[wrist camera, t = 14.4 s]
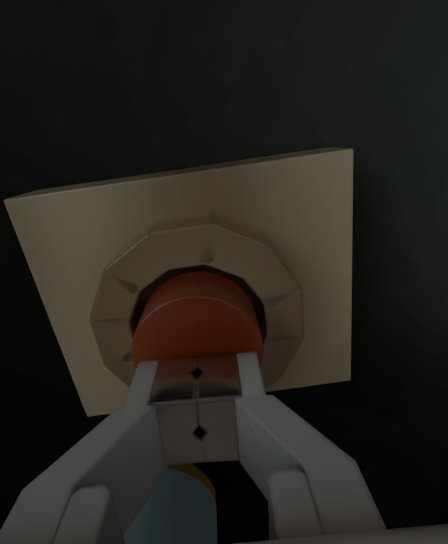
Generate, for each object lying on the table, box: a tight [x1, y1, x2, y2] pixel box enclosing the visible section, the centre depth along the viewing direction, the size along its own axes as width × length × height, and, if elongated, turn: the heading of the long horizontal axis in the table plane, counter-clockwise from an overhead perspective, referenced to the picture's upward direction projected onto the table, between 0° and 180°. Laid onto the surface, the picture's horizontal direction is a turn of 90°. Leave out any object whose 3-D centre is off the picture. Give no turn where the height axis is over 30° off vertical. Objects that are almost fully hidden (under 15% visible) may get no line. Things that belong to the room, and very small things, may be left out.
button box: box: [4, 147, 353, 417], centre depth 12 cm, size 11×9×4 cm
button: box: [131, 271, 264, 369], centre depth 10 cm, size 4×4×2 cm
